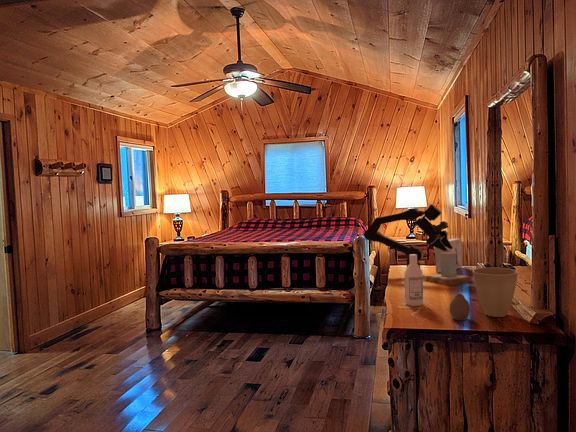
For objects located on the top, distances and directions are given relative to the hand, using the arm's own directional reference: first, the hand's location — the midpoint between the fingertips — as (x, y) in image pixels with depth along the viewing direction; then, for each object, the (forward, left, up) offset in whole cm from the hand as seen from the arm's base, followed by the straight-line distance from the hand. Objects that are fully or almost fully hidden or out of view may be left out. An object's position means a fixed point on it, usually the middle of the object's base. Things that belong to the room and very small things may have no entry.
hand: (449, 249), depth 237 cm
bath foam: (+26, -50, -14) cm, 58 cm away
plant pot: (+54, -38, -14) cm, 68 cm away
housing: (+7, -8, -11) cm, 15 cm away
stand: (+7, -8, -14) cm, 17 cm away
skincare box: (-12, +14, -14) cm, 23 cm away
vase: (+50, -52, -14) cm, 74 cm away
